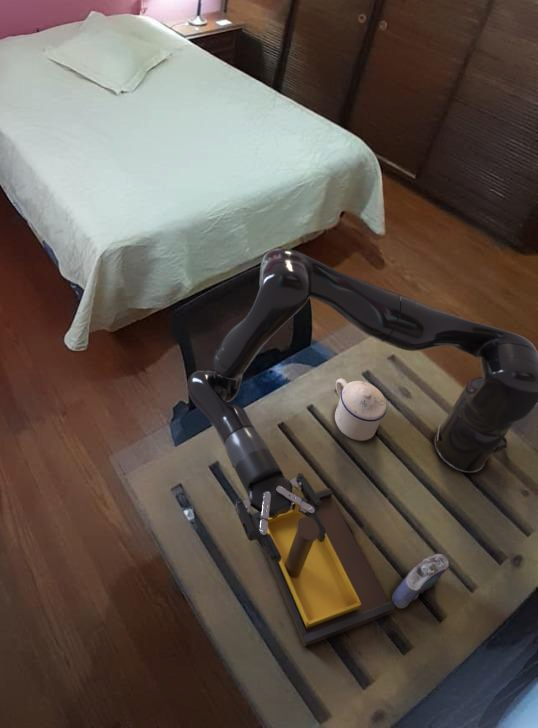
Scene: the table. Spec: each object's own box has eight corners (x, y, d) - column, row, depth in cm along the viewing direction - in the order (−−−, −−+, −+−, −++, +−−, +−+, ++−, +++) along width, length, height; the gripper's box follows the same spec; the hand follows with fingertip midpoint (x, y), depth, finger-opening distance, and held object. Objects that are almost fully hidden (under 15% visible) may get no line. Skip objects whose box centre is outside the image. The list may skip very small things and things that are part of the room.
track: (328, 493, 107) (330, 488, 106) (392, 613, 92) (395, 608, 90) (251, 519, 104) (252, 513, 103) (304, 646, 89) (306, 642, 87)
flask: (399, 612, 92) (417, 590, 85) (385, 594, 94) (402, 571, 88) (437, 583, 95) (457, 559, 89) (423, 566, 97) (442, 541, 91)
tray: (308, 508, 104) (325, 463, 93) (358, 609, 91) (384, 570, 81) (261, 524, 102) (272, 480, 91) (305, 629, 90) (324, 592, 79)
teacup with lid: (386, 433, 117) (400, 403, 110) (352, 449, 114) (364, 419, 107) (349, 387, 126) (360, 356, 119) (316, 401, 123) (325, 370, 116)
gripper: (219, 463, 98) (266, 559, 86) (287, 435, 102) (341, 523, 90) (216, 482, 103) (261, 576, 91) (281, 455, 106) (333, 542, 94)
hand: (301, 550), depth 90 cm, fingers open, 8 cm apart
